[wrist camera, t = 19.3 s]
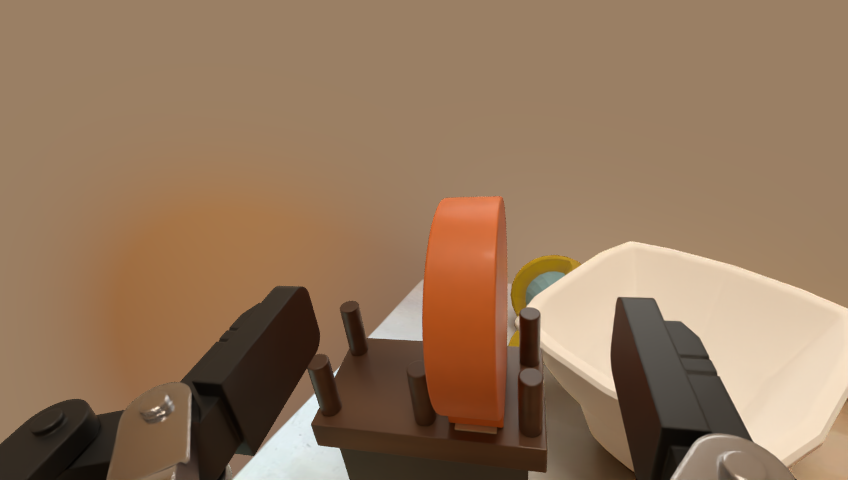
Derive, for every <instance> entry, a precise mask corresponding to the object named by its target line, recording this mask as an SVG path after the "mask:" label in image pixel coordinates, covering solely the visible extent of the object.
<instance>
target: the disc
mask: <svg viewBox="0 0 848 480" xmlns="http://www.w3.org/2000/svg"><path fill="white" fill-rule="evenodd" d="M506 238H507V237H506V218H505V207H504V201H503V198H502V197H500V196H499V197H497V196H493V197H452V198H445V199H442V201H441V202H440V203H439V205H438V207H437V209H436V212H435V215H434V218H433V222H432V225H431V230H430V235H429V241H428V247H427V254H426V263H425V274H424V286H423V314H422V327H423V355H424V367H425V375H426V382H427V388H428V393H429V397H430V401H431V404H432V406H433V409H434V410H435V412H436V413H437V414H439V415H441V416H448V421H449V422H450V423H459V424H469V425H480V426H490V427H500V428H503V426H504V411H505V391H506V371H507V239H506Z"/></svg>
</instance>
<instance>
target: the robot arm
mask: <svg viewBox="0 0 848 480" xmlns="http://www.w3.org/2000/svg"><path fill="white" fill-rule="evenodd" d="M319 341H320V332H319V328H318V324H317V320H316V317H315V313H314V310H313V306H312V303H311V300H310V296H309V293H308V291H307V289H306V288H304V287H295V286H277V287H275V288H274V289H273V290H272V291H271V292H270V293H269V294H268V295H267V297H266V298H265V299H264V300H263V301H262V303H258V304H257V305H255V306H254V307H252V308H251V309H249V310H248V311H246V312H245V313H243V314H242V315H241V316H240V317H239V318H238V319H237V320H236V321H235V322H234V323H233V324H232V326H231V327H230V329H229V331H226V332H225V333H224V334H223V335H222V336H221V338H220V340H219V342H216V343H215V344H214V345H213V346H212V347H211V349H210V350H209V351H208V352H207V353H206V354H205V355H204V356H203V357H202V358H201V360H200V361H199V362H198V363H197V364H196V365H195V366H194V367H193V368H192V369H191V371H190V372H189V373H188V374H187V375H186V376H185V377H184V378H183V379H182V380H181V381H180V382H171V383H166V384H163V385H159V386H157V387H154V388H152V389H150V390H148V391H147V392H145V393H143V394H142V395H140V396H139V397H137V398H136V399H135V400H134V401H133V402H132V403H131V404H130V405H129V406H128V407H127V408H126V410H122V411H116V412H111V413H106V414H100V415H95V413H94V412H93V410H92V409H91V407H90V406H89V404H88V403H87V402H86V401H84V400H81V399H72V400H66V401H63V402H60V403H57V404H54V405H52V406H50V407H48V408H46V409H44V410H42V411H40V412H39V413H37V414H36V415H34V416H33V417H31V418H30V419H29V420H27V421H26V422H25V423H24V424H23V425H22V426H20V427H19V428H18V429H17V430H16V431H15V432H14V433H12V434H11V435H10V436H9V437H8V438H7V439H6V440H4V441H3V442H2V443H1V444H0V480H232V472H231V468H230V466H229V464H228V463H229V461H230V460H231V458H232V457H233V455H234V454H243V455H251V456H254V455H255V454H256V452H257V450H258V448H259V447H260V445H261V444H262V442H263V440H264V438H265V437H266V435H267V434H268V432H269V430H270V429H271V427H272V425H273V424H274V422H275V420H276V419H277V417H278V415H279V414H280V412H281V410H282V409H283V407H284V405H285V404H286V402H287V400H288V398H289V397H290V395H291V393H292V392H293V390H294V389H295V387H296V385H297V384H298V382H299V380H300V379H301V377H302V375H303V374H304V372H305V370H306V369H307V367H308V365H309V364H310V362H311V360H312V359H313V357H314V355H315V354H316V352H317V350H318V346H319ZM610 360H611V370H612V376H613V380H614V384H615V389H616V393H617V398H618V402H619V406H620V411H621V415H622V419H623V424H624V428H625V433H626V437H627V441H628V446H629V450H630V454H631V459H632V463H633V467H634V472H635V476H636V480H796V479H795V478H794V476H793V475H792V474H791V472H790V471H789V469H788V468H787V467H786V466H785V465H784V464H783V463H782V462H781V461H780V460H779V459H778V458H777V457H776V456H774V455H773V454H772V453H770V452H769V451H768V450H766V449H765V448H763V447H761V446H759V445H758V444H756V443H754V442H753V440H752V438H751V436H750V435H749V433H748V431H747V429H746V427H745V425H744V423H743V421H742V419H741V417H740V415H739V413H738V411H737V409H736V407H735V405H734V403H733V401H732V400H731V398H730V396H729V394H728V392H727V390H726V388H725V386H724V384H723V382H722V380H721V378H720V376H718V375H717V370H716V368H715V367H714V365H713V363H712V361H711V360H709V355H708V353H707V351H706V349H705V347H704V345H703V343H702V341H701V339H700V337H698V336H697V335H696V334H695V333H694V332H693V331H692V330H690V329H689V328H688V327H687V326H686V325H685V324H684V323H682V322H681V321H664V319H663V316H662V314H661V312H660V309H659V307H658V305H657V302H656V300H655V299H654V298H641V297H618V298H617V301H616V307H615V315H614V323H613V332H612V340H611V350H610Z"/></svg>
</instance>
